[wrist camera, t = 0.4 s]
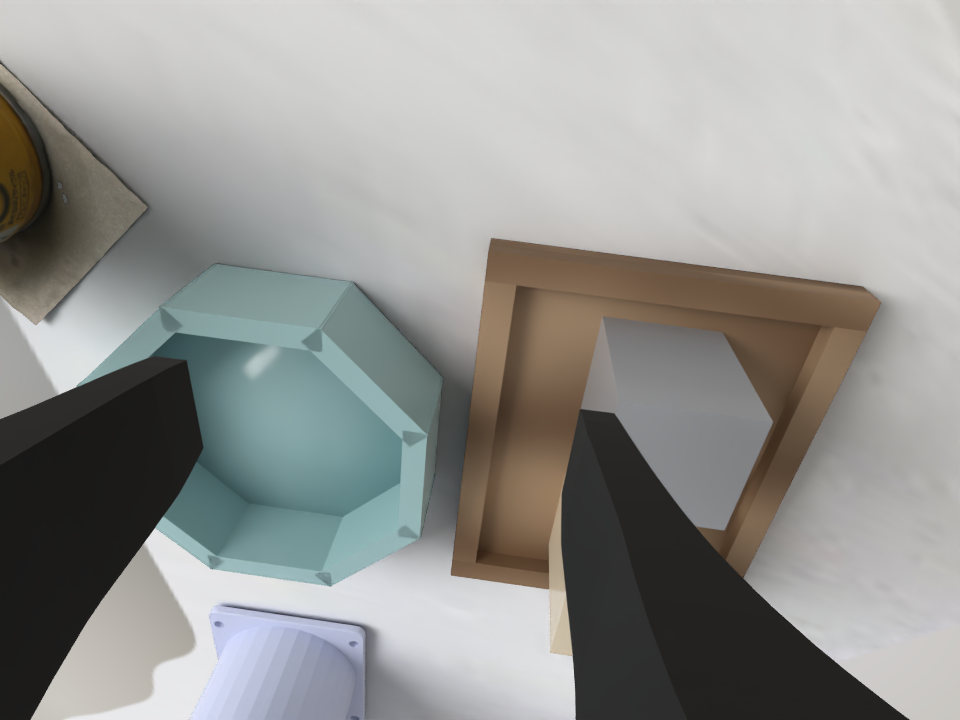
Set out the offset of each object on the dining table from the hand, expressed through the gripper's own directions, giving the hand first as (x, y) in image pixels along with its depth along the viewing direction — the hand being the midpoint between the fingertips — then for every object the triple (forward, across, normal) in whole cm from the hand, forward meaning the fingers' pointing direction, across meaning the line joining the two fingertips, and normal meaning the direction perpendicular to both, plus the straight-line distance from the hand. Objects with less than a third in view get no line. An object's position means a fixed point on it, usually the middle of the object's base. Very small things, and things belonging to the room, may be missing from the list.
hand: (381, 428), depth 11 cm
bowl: (+10, +6, +8) cm, 14 cm away
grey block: (+10, -7, +4) cm, 12 cm away
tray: (+10, -7, +7) cm, 14 cm away
